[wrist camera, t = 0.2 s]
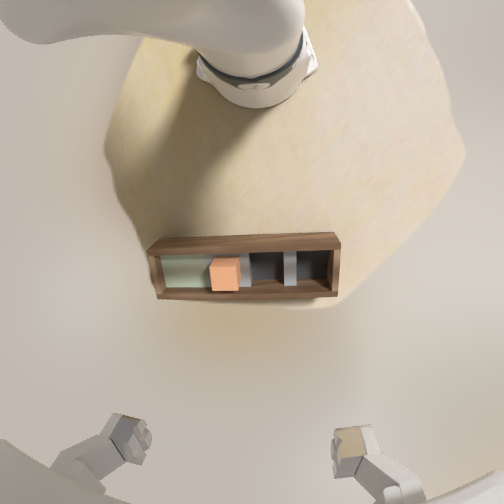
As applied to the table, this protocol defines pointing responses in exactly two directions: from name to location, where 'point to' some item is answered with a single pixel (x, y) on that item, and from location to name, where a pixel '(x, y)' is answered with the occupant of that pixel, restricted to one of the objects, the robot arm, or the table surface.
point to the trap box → (248, 266)
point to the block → (225, 273)
